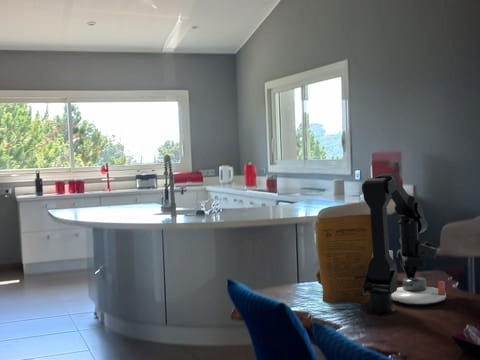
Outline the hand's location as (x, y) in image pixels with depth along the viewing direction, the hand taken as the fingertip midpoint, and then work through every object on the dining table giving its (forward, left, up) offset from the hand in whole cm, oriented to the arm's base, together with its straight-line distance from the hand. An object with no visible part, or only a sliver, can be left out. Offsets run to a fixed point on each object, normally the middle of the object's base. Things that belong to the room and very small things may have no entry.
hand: (411, 283), depth 187 cm
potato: (-10, +24, -3) cm, 26 cm away
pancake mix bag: (-20, +11, -3) cm, 23 cm away
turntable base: (-7, -6, -3) cm, 10 cm away
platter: (-7, -6, -2) cm, 10 cm away
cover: (-4, -3, -1) cm, 5 cm away
